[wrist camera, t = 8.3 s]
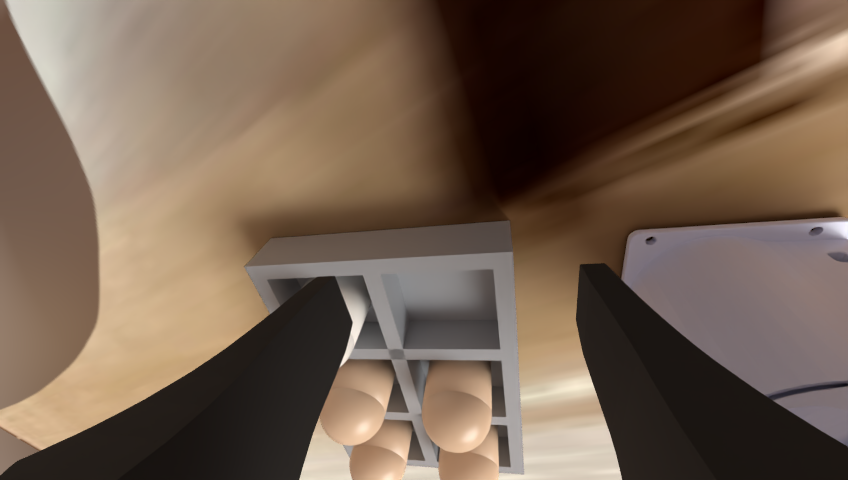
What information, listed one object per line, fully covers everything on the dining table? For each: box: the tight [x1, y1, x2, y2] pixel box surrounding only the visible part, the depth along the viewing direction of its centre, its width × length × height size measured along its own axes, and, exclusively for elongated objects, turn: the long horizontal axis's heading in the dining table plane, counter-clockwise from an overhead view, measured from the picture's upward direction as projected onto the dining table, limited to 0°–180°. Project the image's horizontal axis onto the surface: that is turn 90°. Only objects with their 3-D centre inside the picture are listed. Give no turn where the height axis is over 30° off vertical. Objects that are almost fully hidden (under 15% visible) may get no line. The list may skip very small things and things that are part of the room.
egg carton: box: [244, 221, 524, 480], centre depth 24 cm, size 15×22×7 cm
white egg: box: [301, 275, 372, 368], centre depth 21 cm, size 4×4×6 cm
